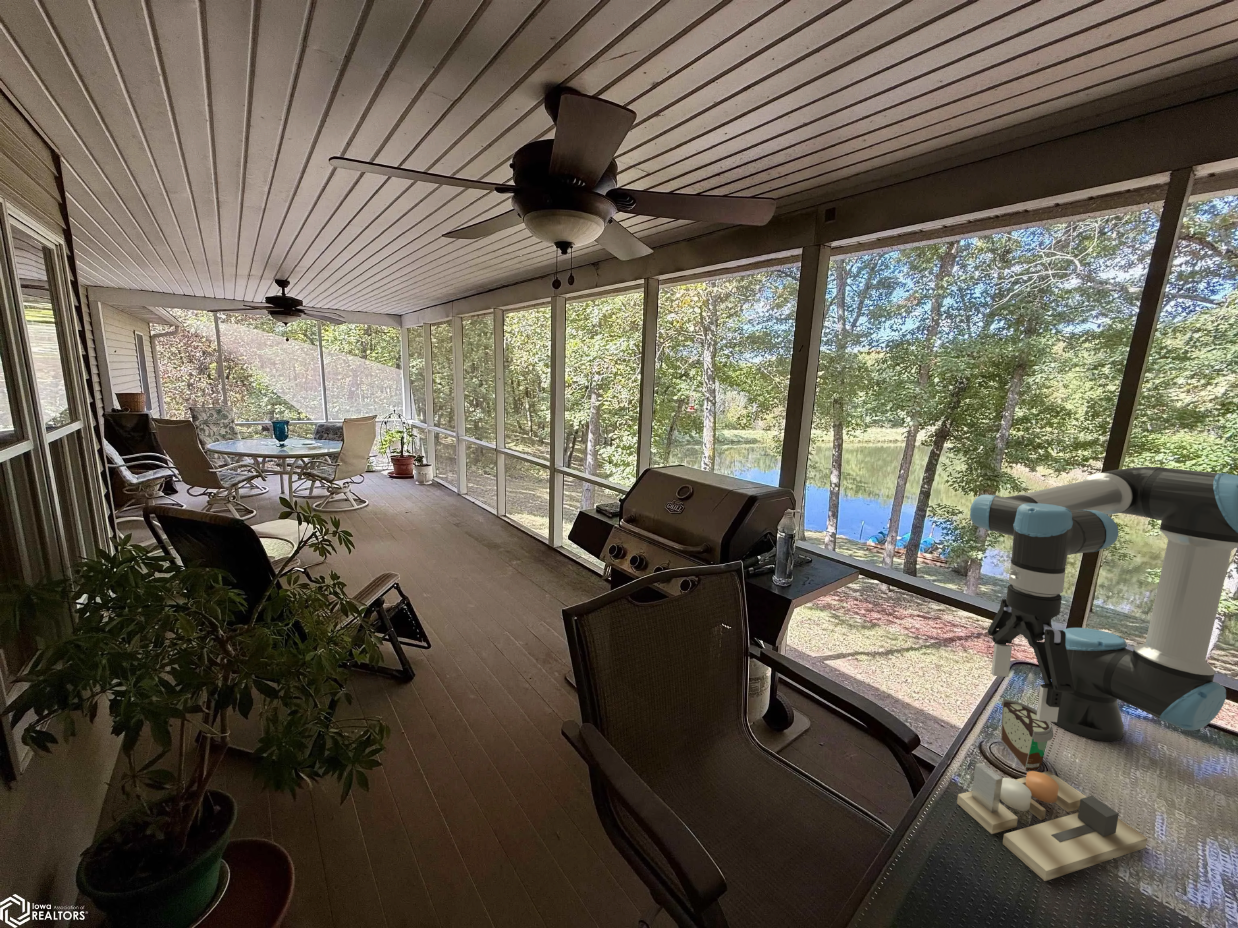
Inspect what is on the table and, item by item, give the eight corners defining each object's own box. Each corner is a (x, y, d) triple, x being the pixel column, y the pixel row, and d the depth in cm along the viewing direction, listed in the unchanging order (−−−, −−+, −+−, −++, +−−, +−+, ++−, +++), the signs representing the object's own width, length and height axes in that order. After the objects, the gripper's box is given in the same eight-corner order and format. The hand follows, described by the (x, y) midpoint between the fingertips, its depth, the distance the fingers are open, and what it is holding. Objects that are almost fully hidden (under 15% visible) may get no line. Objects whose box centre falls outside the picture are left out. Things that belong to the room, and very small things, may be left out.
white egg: (1010, 788, 97) (1012, 775, 96) (1036, 807, 92) (1038, 794, 92) (991, 792, 96) (993, 780, 95) (1017, 813, 91) (1018, 799, 91)
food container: (1063, 779, 102) (1069, 736, 100) (1029, 775, 103) (1035, 732, 101) (1026, 739, 114) (1031, 700, 112) (997, 735, 115) (1001, 697, 113)
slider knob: (1089, 814, 91) (1092, 795, 90) (1115, 832, 87) (1118, 813, 86) (1077, 817, 90) (1080, 798, 89) (1103, 836, 86) (1106, 816, 86)
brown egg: (1036, 781, 98) (1038, 768, 98) (1063, 800, 94) (1065, 787, 93) (1018, 785, 97) (1020, 773, 97) (1044, 805, 93) (1046, 792, 92)
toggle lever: (977, 794, 96) (982, 762, 95) (998, 811, 92) (1002, 778, 91) (971, 795, 95) (975, 764, 94) (991, 812, 91) (996, 779, 90)
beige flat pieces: (1047, 779, 102) (1048, 770, 101) (1145, 847, 86) (1147, 837, 86) (957, 803, 96) (958, 793, 96) (1044, 880, 80) (1046, 870, 80)
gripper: (974, 563, 100) (964, 658, 103) (1060, 618, 76) (1044, 740, 79) (1014, 565, 99) (1003, 661, 102) (1115, 622, 75) (1097, 745, 78)
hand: (1021, 696), depth 91 cm, fingers open, 13 cm apart
